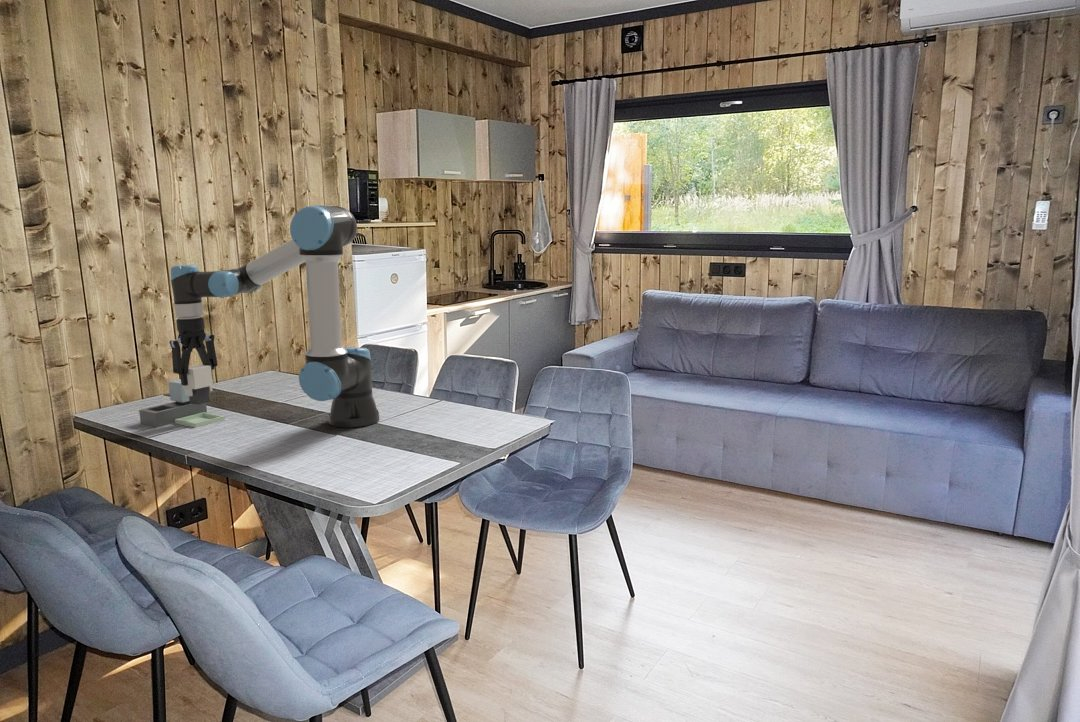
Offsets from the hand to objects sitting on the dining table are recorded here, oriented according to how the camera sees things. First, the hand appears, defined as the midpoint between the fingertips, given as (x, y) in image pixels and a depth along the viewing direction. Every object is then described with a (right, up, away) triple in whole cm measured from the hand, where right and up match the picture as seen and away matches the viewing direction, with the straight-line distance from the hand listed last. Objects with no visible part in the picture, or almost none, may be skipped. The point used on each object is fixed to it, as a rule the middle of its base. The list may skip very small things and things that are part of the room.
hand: (198, 393), depth 229 cm
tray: (0, -9, +2) cm, 10 cm away
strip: (-9, -9, +7) cm, 14 cm away
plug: (0, -3, +1) cm, 3 cm away
